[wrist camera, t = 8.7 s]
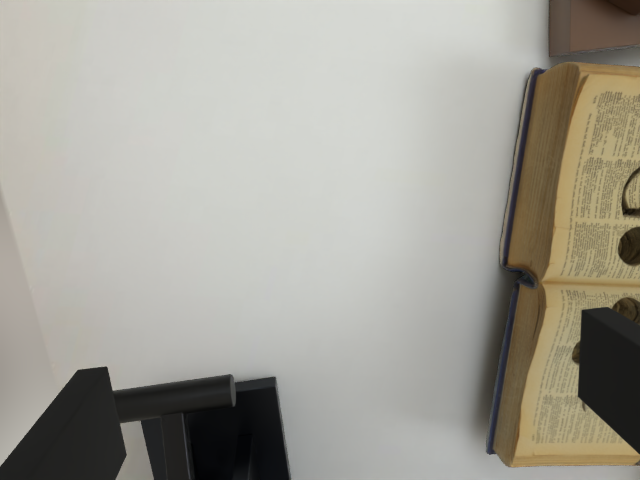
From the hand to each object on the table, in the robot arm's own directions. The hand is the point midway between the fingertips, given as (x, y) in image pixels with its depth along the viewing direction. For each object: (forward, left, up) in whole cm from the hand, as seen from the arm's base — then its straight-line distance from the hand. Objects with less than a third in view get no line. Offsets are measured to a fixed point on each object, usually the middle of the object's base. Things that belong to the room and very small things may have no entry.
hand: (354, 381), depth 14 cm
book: (+5, +20, -18) cm, 27 cm away
